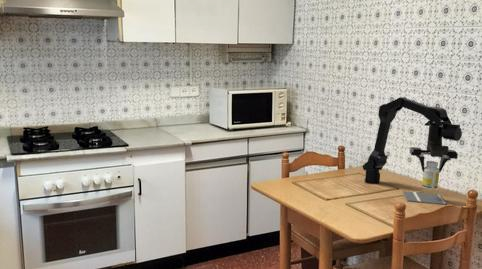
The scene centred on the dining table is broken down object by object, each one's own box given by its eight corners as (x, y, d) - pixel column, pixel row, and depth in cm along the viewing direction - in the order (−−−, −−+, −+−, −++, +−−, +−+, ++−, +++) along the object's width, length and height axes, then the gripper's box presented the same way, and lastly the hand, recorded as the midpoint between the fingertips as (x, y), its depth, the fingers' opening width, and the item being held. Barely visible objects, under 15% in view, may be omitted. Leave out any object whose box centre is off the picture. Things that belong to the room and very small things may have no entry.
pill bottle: (436, 186, 208) (439, 161, 206) (437, 190, 202) (441, 164, 200) (421, 184, 210) (424, 159, 208) (421, 188, 204) (424, 162, 202)
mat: (407, 201, 202) (407, 199, 202) (402, 192, 215) (402, 190, 215) (446, 204, 199) (446, 203, 199) (439, 195, 212) (439, 194, 212)
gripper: (415, 138, 196) (411, 174, 199) (463, 142, 193) (458, 178, 195) (411, 134, 207) (407, 168, 210) (456, 137, 203) (452, 172, 206)
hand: (431, 172), depth 205 cm, fingers closed on pill bottle, 6 cm apart
